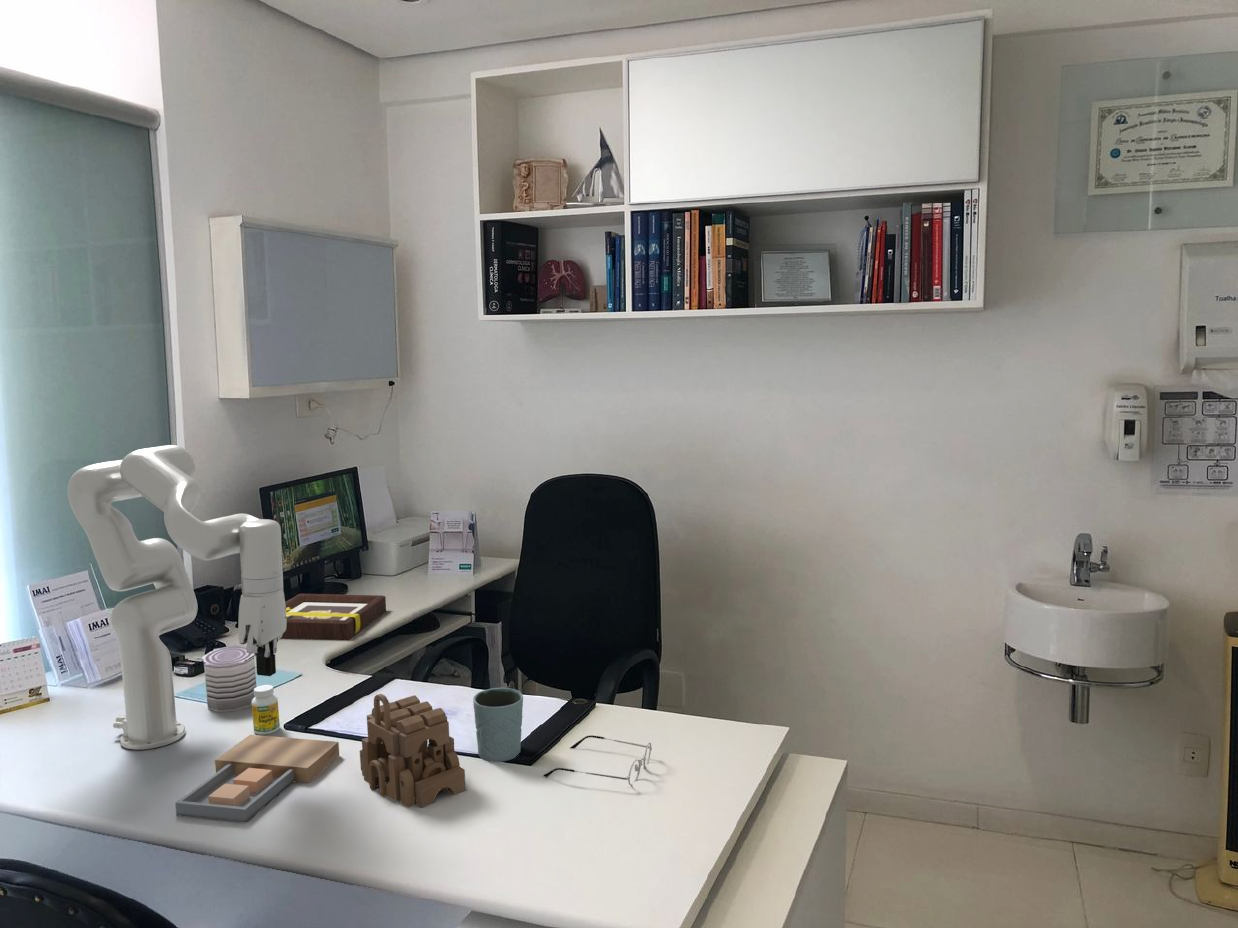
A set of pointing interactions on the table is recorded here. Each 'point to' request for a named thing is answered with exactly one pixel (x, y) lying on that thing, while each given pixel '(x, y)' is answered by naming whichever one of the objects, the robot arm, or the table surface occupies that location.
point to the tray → (199, 805)
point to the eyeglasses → (610, 775)
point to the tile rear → (254, 779)
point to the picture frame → (331, 615)
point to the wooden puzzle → (410, 752)
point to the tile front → (230, 795)
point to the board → (280, 756)
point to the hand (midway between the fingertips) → (266, 673)
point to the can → (229, 678)
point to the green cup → (498, 723)
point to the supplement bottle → (265, 710)
